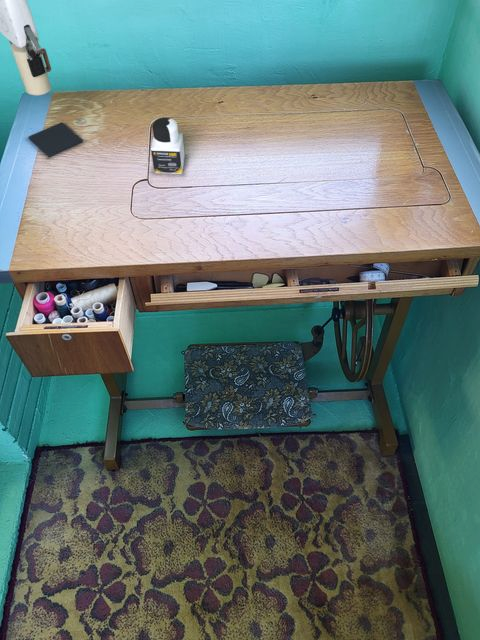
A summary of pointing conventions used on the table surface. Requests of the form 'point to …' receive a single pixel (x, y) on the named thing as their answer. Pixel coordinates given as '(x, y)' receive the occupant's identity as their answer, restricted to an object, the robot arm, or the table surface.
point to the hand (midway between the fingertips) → (31, 67)
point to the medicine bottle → (167, 147)
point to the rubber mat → (55, 139)
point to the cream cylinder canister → (31, 83)
